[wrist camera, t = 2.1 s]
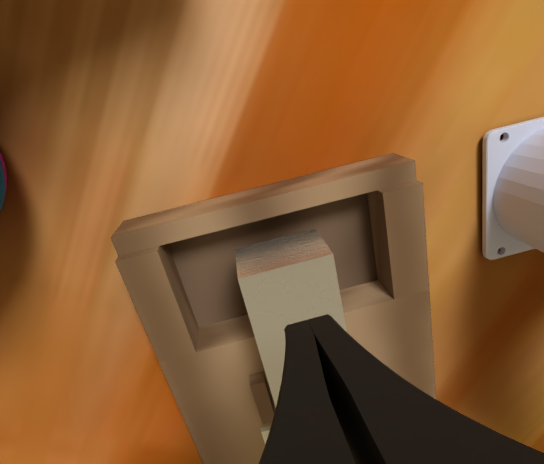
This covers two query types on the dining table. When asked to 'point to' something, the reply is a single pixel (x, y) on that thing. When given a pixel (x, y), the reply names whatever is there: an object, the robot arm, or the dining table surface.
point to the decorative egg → (2, 181)
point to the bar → (286, 292)
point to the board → (230, 304)
